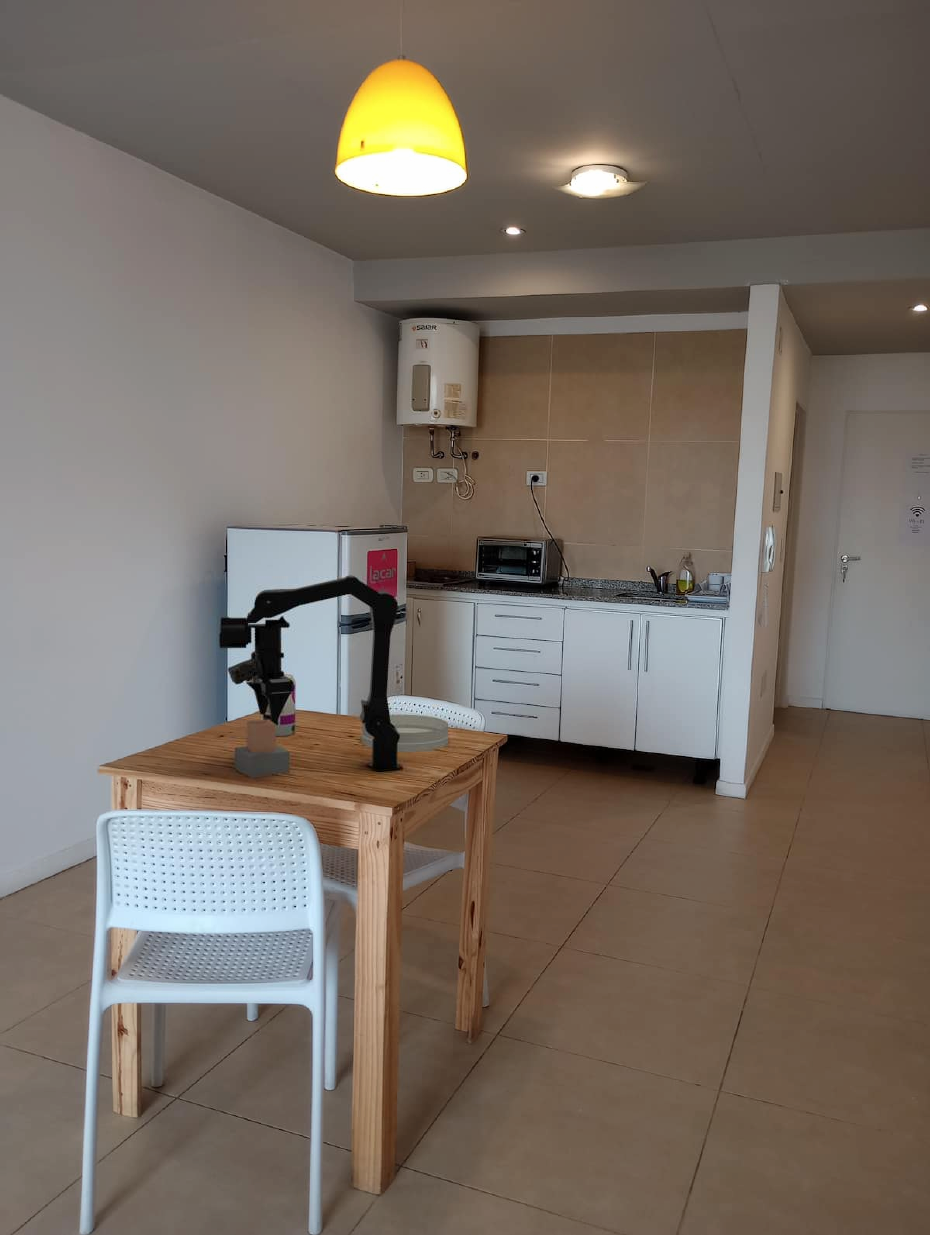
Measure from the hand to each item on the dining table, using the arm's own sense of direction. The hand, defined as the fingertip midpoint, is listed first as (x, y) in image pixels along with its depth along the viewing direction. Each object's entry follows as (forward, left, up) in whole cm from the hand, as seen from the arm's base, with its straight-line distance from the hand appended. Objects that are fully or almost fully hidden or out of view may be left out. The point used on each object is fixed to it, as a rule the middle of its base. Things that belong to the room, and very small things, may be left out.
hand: (268, 718), depth 216 cm
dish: (+15, -39, -12) cm, 44 cm away
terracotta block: (+1, +1, -7) cm, 7 cm away
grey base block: (+1, +1, -12) cm, 12 cm away
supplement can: (+35, -13, -12) cm, 39 cm away
